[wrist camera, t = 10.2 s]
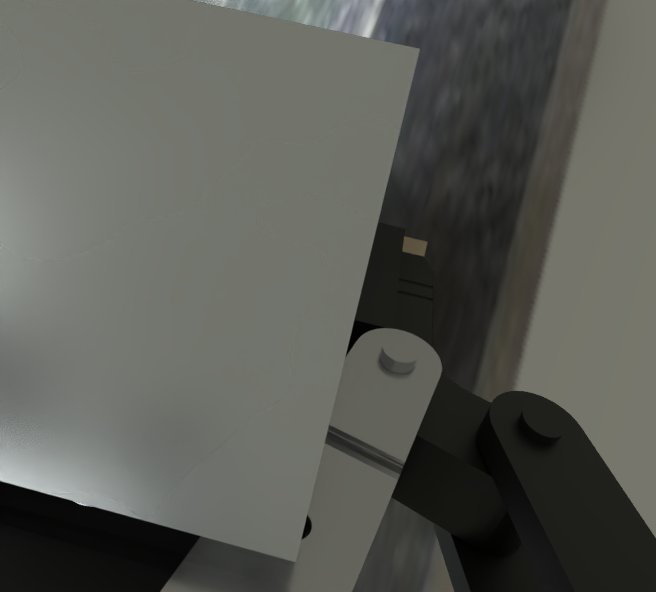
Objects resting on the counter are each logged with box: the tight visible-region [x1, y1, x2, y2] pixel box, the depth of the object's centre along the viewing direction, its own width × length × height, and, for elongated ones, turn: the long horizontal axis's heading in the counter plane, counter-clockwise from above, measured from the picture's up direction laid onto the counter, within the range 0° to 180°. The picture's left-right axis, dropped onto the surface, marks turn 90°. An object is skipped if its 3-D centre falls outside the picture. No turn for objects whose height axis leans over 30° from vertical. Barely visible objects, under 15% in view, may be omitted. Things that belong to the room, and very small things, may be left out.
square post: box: [0, 0, 420, 562], centre depth 10 cm, size 4×4×12 cm
